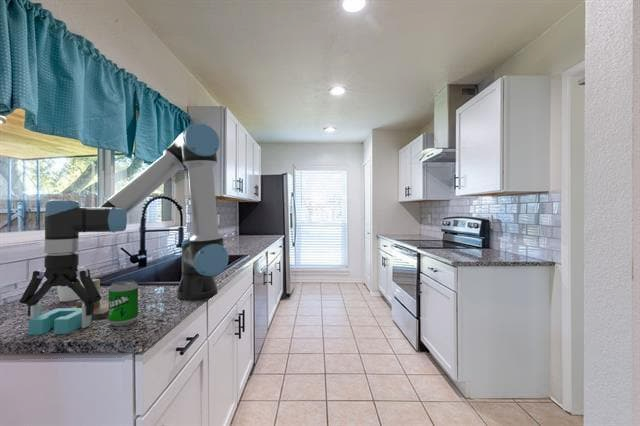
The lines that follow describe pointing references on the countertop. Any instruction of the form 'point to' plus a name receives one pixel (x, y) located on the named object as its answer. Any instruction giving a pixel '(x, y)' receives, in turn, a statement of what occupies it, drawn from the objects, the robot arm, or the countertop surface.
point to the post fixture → (96, 304)
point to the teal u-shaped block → (57, 321)
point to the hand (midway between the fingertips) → (61, 327)
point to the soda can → (123, 303)
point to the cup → (69, 290)
